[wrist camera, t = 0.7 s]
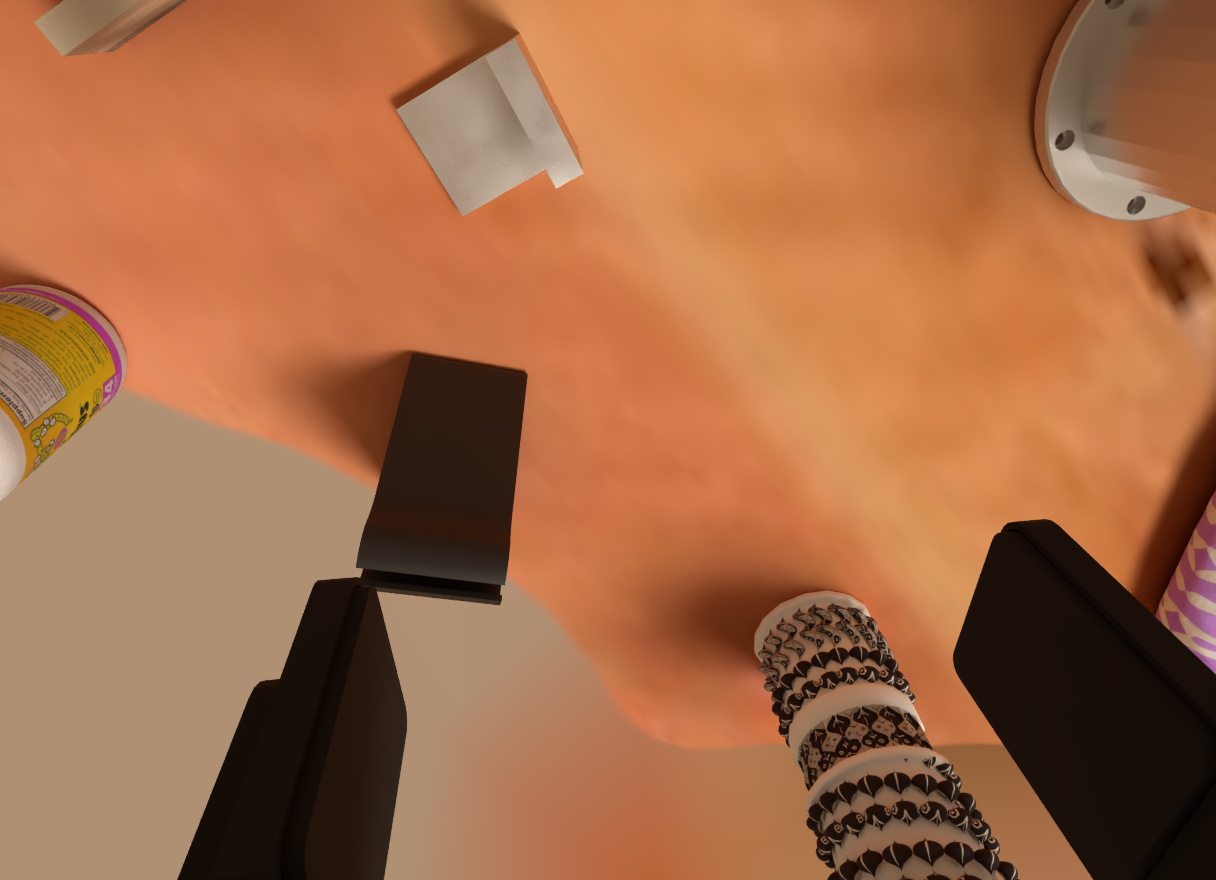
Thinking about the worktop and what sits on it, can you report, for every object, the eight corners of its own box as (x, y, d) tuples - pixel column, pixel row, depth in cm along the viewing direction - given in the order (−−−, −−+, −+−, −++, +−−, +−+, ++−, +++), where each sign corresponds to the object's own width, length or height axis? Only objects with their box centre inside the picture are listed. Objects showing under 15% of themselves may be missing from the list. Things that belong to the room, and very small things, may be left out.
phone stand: (501, 506, 42) (487, 667, 32) (398, 491, 41) (348, 652, 30) (528, 371, 37) (522, 508, 27) (413, 350, 36) (361, 485, 26)
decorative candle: (904, 609, 49) (1179, 1070, 28) (825, 691, 53) (1012, 1149, 32) (798, 569, 46) (1014, 1047, 25) (723, 659, 50) (854, 1136, 29)
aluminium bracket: (519, 32, 29) (514, 38, 24) (577, 146, 32) (583, 173, 27) (400, 106, 30) (370, 127, 25) (464, 211, 33) (450, 248, 28)
